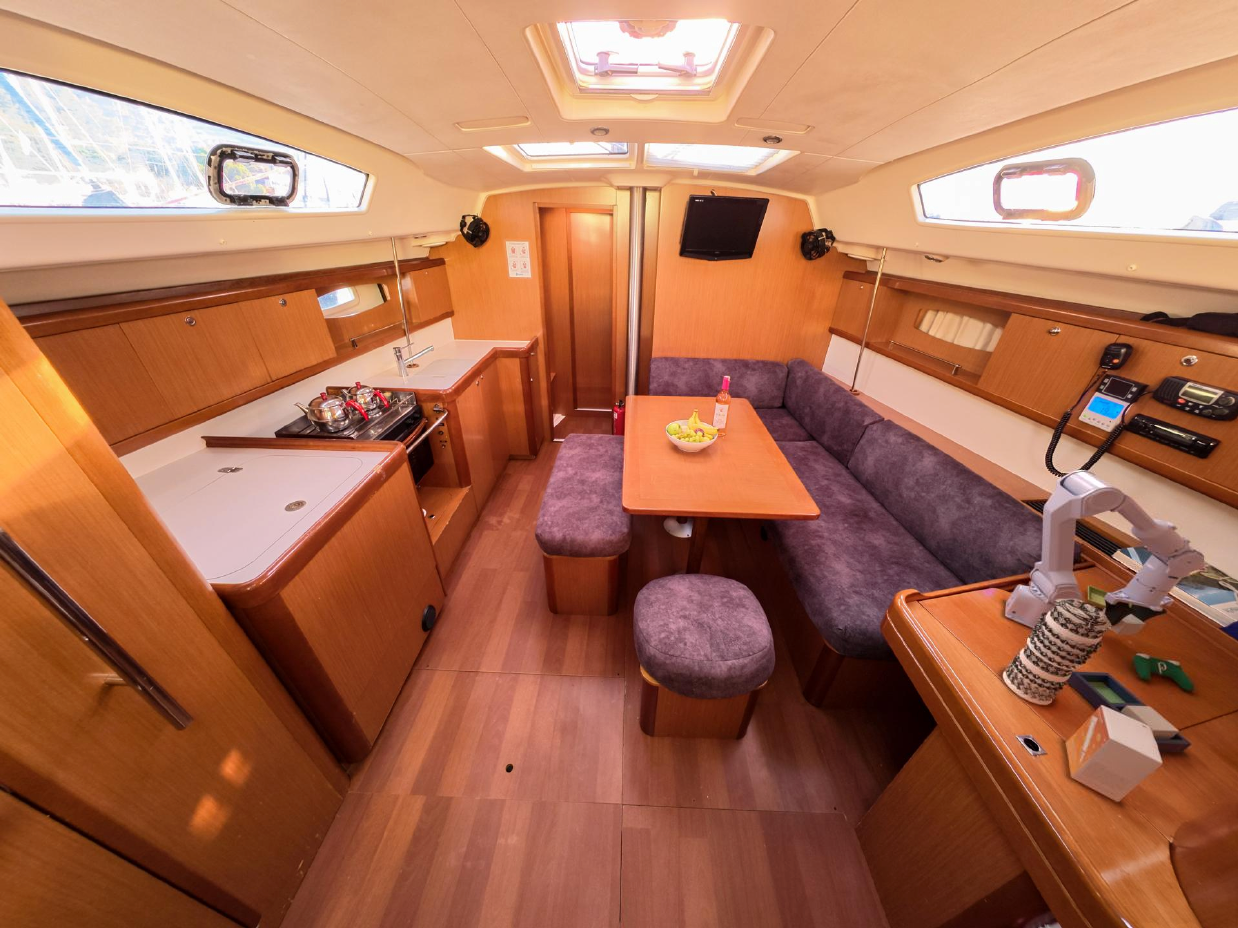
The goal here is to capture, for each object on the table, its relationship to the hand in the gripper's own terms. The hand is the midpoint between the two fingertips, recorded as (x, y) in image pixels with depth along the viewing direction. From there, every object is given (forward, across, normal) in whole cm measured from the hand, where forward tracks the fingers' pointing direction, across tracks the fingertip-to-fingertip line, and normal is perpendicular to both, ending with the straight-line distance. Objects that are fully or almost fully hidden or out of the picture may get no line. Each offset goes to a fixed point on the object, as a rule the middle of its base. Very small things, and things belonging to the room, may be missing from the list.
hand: (1118, 622), depth 103 cm
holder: (+5, -20, -21) cm, 29 cm away
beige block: (+4, -20, -25) cm, 32 cm away
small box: (+5, -39, -32) cm, 51 cm away
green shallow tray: (+5, +12, +11) cm, 17 cm away
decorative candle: (+5, -35, -15) cm, 39 cm away
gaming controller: (+5, -1, -11) cm, 13 cm away
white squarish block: (+1, 0, 0) cm, 1 cm away
